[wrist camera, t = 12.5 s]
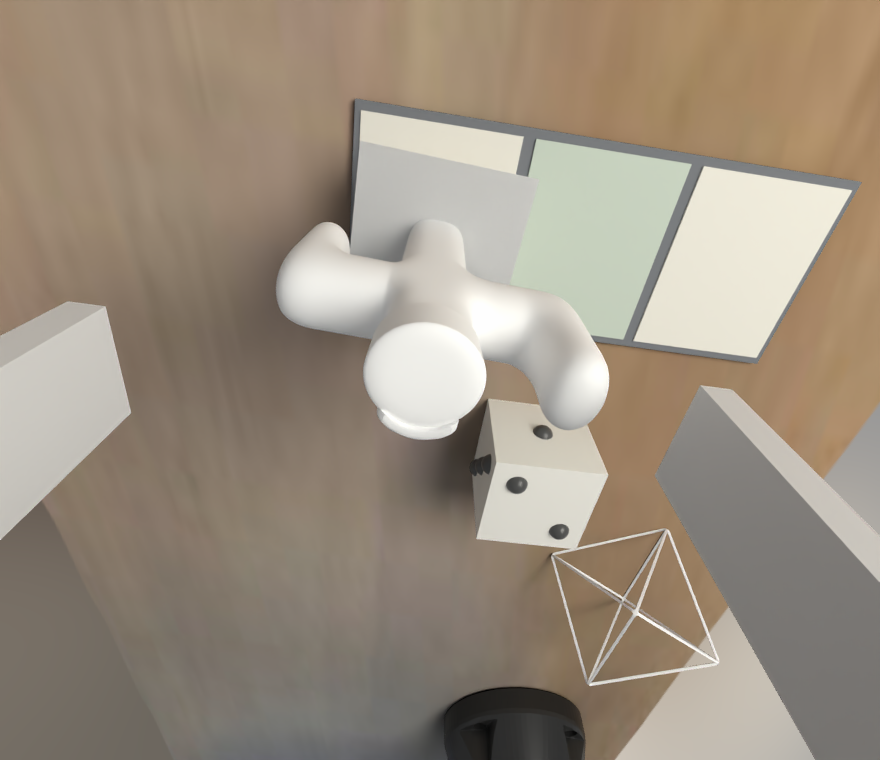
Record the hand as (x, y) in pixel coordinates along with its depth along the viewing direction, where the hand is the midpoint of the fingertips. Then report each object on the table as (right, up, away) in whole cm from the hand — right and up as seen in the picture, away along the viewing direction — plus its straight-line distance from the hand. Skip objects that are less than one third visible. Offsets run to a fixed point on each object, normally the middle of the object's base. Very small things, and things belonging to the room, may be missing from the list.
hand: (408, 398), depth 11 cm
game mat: (+8, +7, +13) cm, 17 cm away
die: (+6, -4, +20) cm, 21 cm away
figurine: (+1, +8, +13) cm, 15 cm away
